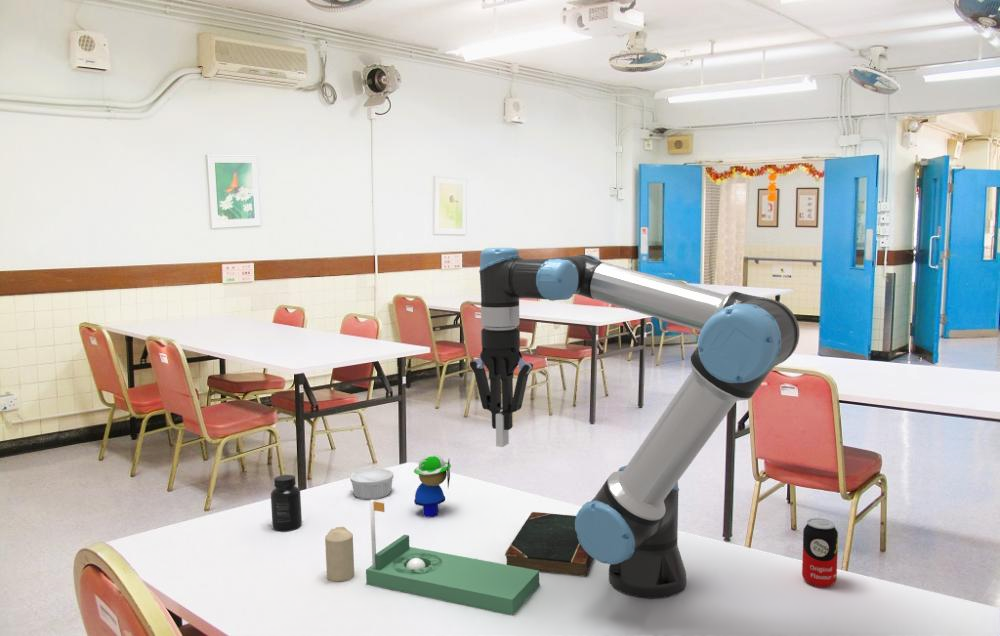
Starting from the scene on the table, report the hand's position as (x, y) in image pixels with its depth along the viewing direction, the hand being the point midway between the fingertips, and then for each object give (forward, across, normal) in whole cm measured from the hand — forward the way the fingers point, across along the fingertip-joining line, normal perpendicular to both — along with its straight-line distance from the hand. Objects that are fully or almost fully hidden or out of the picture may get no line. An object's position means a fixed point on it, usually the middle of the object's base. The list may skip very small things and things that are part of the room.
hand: (502, 444), depth 159 cm
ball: (+25, +16, +8) cm, 31 cm away
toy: (+28, +31, -25) cm, 48 cm away
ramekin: (+28, +53, -31) cm, 67 cm away
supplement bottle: (+28, +59, -4) cm, 65 cm away
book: (+28, -5, -17) cm, 33 cm away
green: (+27, +8, +8) cm, 30 cm away
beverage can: (+28, -58, -22) cm, 68 cm away
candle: (+28, +31, +13) cm, 43 cm away
